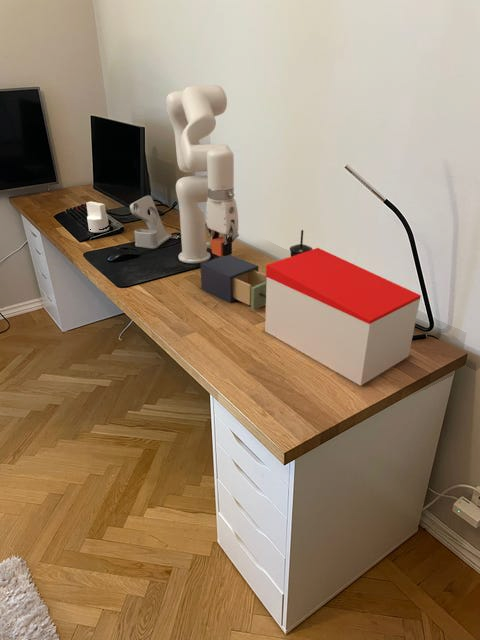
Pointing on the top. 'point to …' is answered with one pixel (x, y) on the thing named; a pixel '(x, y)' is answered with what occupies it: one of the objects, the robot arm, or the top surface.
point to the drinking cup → (299, 247)
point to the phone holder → (148, 224)
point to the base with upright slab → (97, 217)
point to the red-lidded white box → (339, 314)
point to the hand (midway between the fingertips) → (221, 252)
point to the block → (217, 246)
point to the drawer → (250, 288)
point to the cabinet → (223, 275)
